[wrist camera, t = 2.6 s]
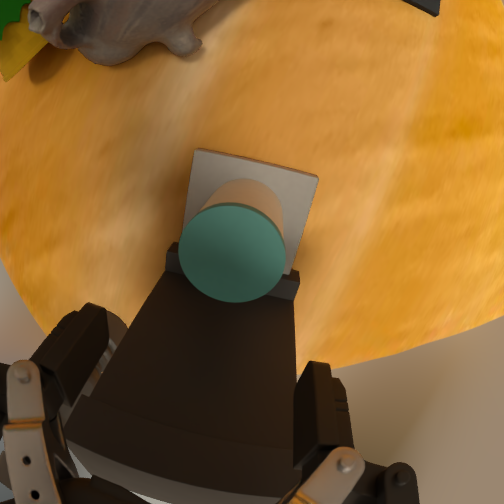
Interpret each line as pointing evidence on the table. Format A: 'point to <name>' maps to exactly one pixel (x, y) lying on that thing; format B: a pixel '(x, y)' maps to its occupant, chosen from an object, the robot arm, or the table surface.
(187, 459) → the coffee maker
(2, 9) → the ornament
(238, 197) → the container
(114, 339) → the candle holder
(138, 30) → the piggy bank
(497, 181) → the table surface
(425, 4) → the mat
